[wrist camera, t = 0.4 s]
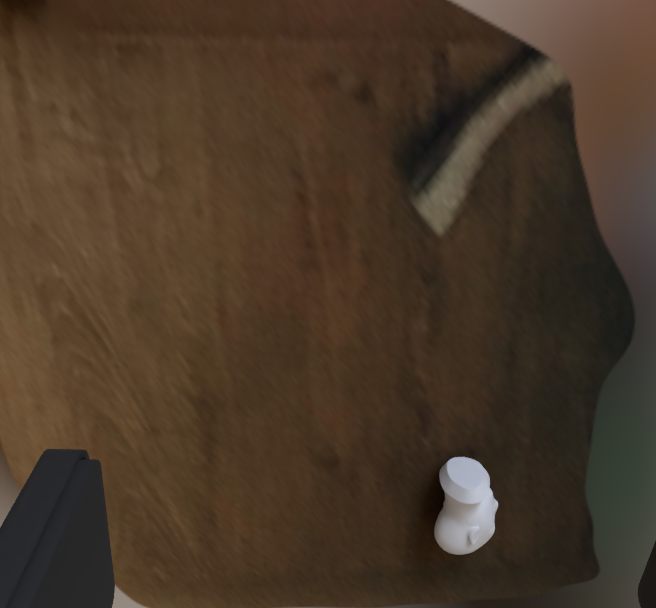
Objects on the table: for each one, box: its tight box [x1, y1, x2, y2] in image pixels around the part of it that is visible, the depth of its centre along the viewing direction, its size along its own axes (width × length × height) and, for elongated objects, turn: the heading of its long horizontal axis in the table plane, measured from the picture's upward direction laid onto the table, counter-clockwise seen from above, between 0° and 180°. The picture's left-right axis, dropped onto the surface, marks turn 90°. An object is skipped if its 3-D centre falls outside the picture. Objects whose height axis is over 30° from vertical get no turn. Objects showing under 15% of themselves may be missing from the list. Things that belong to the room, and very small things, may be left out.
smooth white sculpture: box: [434, 457, 498, 555], centre depth 47 cm, size 4×8×5 cm
